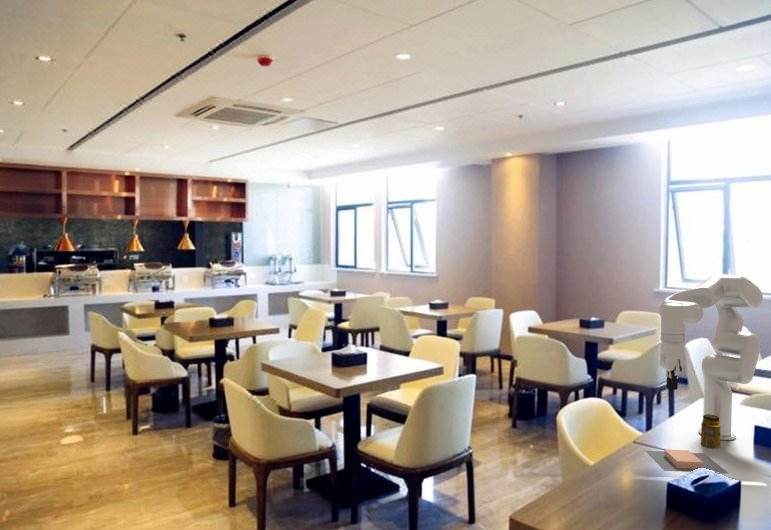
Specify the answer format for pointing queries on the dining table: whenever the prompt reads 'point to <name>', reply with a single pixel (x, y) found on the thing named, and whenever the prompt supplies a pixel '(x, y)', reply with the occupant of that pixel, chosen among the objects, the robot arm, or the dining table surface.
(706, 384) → the robot arm
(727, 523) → the dining table surface
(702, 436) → the condiment
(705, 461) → the mat
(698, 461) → the tile
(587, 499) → the dining table surface
